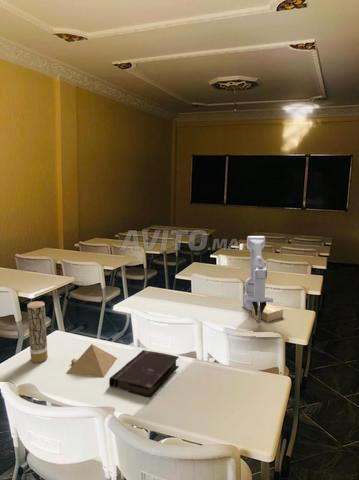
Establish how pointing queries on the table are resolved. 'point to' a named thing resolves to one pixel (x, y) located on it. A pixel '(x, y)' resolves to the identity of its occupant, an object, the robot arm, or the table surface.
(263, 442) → the table surface
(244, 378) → the table surface
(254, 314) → the carton flap
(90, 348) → the model pyramid
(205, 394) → the table surface
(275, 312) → the carton
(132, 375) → the diary
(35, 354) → the bark-patterned cylinder
